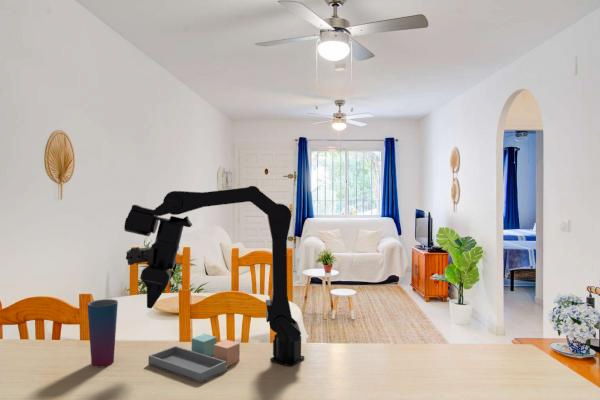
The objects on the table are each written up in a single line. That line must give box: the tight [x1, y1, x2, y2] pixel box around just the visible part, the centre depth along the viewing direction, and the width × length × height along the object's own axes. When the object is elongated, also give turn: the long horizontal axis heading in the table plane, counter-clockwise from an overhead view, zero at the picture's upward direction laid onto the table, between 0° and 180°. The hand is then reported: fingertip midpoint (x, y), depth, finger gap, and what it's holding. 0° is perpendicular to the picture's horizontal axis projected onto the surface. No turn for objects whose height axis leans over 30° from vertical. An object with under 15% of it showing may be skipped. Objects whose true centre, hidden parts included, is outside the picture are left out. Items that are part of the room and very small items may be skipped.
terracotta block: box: [213, 339, 241, 367], centre depth 111 cm, size 4×4×4 cm
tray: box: [148, 345, 228, 384], centre depth 106 cm, size 18×8×2 cm, turn 56°
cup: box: [87, 298, 119, 368], centre depth 108 cm, size 7×7×15 cm
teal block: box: [191, 333, 218, 357], centre depth 115 cm, size 4×4×4 cm
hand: (152, 302), depth 108 cm, fingers open, 9 cm apart
